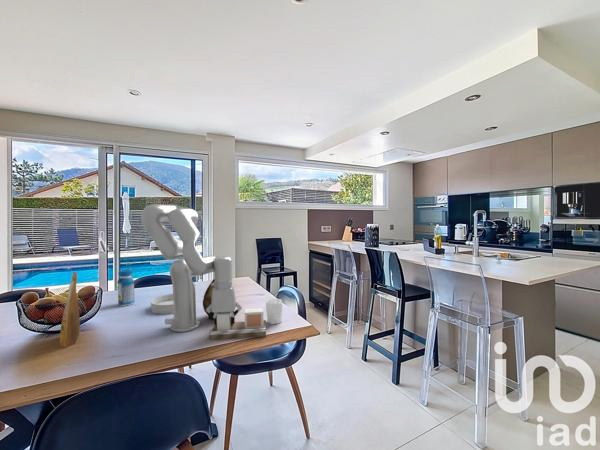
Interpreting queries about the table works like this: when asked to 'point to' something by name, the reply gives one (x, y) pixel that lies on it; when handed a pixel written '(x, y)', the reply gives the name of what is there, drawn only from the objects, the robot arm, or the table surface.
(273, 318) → the white cup
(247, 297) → the table surface
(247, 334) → the grey rectangular tray
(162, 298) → the dish
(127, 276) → the beverage bottle
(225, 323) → the turned carton
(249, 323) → the carton
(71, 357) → the table surface
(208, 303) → the ceramic jug
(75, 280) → the pancake mix bag
